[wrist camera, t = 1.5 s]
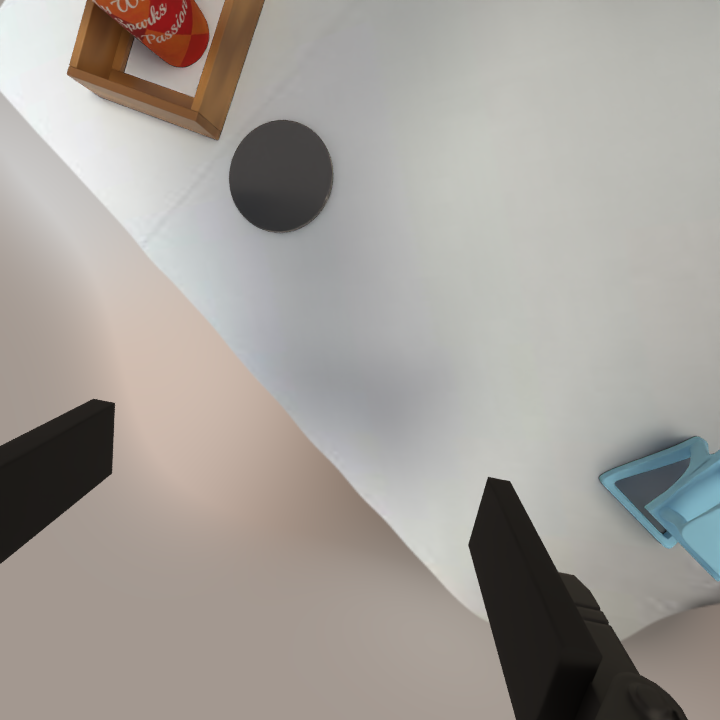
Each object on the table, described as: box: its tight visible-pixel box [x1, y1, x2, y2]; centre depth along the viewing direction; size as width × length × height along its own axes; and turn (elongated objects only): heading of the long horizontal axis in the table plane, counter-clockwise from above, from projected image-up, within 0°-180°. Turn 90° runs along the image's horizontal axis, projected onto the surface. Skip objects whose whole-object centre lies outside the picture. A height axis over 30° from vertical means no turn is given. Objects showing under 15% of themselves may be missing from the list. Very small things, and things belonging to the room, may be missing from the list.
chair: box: [599, 436, 720, 581], centre depth 31 cm, size 8×8×12 cm
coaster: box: [229, 120, 333, 233], centre depth 40 cm, size 10×10×1 cm
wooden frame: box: [67, 0, 264, 140], centre depth 39 cm, size 16×14×4 cm
